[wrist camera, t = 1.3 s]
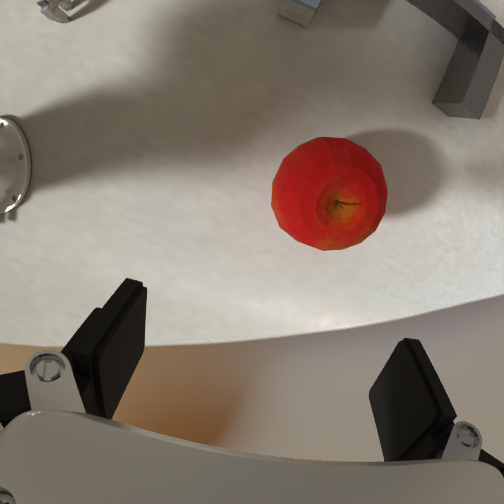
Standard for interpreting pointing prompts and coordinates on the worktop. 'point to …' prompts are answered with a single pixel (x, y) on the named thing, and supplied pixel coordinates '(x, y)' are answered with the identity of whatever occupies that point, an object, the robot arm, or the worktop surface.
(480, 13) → the bracket
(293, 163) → the apple
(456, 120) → the worktop surface
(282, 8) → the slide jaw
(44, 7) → the caliper
